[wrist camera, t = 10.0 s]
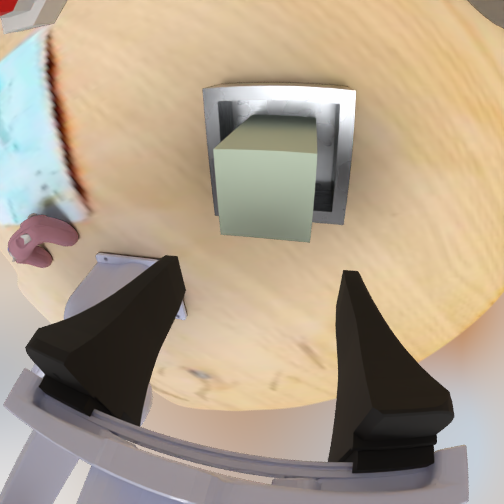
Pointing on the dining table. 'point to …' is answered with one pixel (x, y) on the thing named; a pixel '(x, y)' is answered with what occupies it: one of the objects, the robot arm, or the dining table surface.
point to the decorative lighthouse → (28, 13)
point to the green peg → (267, 178)
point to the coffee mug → (491, 10)
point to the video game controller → (39, 239)
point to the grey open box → (292, 104)
